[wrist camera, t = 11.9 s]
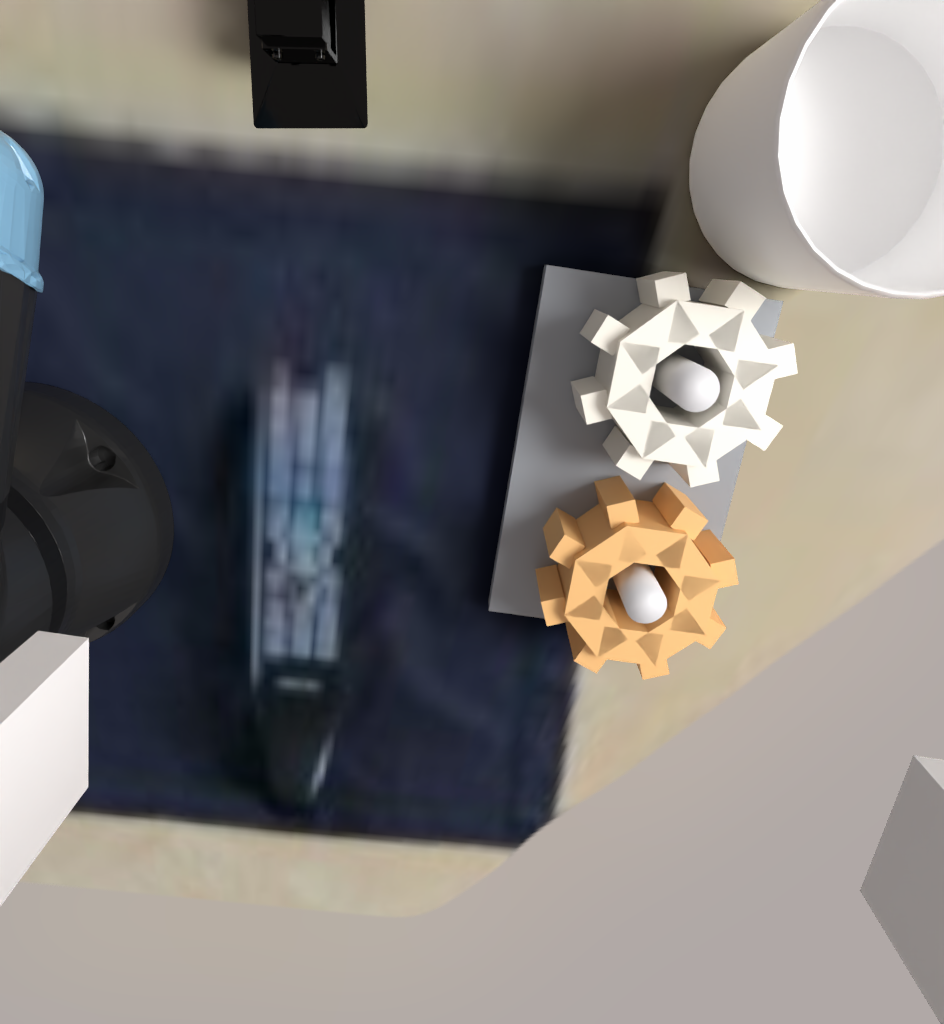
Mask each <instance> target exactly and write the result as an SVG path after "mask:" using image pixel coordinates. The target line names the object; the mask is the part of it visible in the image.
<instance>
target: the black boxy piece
mask: <svg viewBox="0 0 944 1024" xmlns="http://www.w3.org/2000/svg"><path fill="white" fill-rule="evenodd" d="M247 1H248V21H249V40H250V59H251V79H252V98H253V118H254V126H255V127H256V128H365V127H367V124H368V120H367V81H366V42H365V3H364V0H247Z"/></svg>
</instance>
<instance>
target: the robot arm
mask: <svg viewBox="0 0 944 1024" xmlns="http://www.w3.org/2000/svg"><path fill="white" fill-rule="evenodd" d="M43 202H44V192H43V185H42V181H41V178H40V175H39V172H38V170H37V168H36V166H35V164H34V163H33V161H32V159H31V158H30V157H29V155H28V154H27V153H26V152H25V150H24V149H23V148H21V147H20V146H19V145H18V144H17V143H16V142H15V141H14V140H13V139H12V138H10V137H9V136H8V135H6V134H5V133H3V132H2V131H0V906H1V905H2V903H3V902H4V901H5V899H6V898H7V897H8V895H9V894H10V893H11V891H12V889H13V888H14V887H15V886H16V884H17V883H18V882H19V880H20V879H21V878H22V876H23V875H24V874H25V872H26V871H27V869H28V868H29V867H30V865H31V864H32V863H33V861H34V860H35V859H36V857H37V856H38V854H39V853H40V852H41V850H42V849H43V848H44V846H45V845H46V844H47V842H48V841H49V840H50V838H51V837H52V835H53V834H54V833H55V831H56V830H57V829H58V827H59V826H60V825H61V823H62V822H63V820H64V819H65V818H66V816H67V815H68V814H69V812H70V811H71V810H72V808H73V807H74V806H75V804H76V803H77V801H78V800H79V799H80V797H81V796H82V795H83V793H84V792H85V791H86V789H87V788H88V703H89V643H90V642H92V641H94V640H97V639H99V638H101V637H103V636H105V635H107V634H108V633H110V632H111V631H113V630H115V629H116V628H118V627H119V626H120V625H122V624H123V623H124V622H125V621H126V620H128V619H129V618H130V617H131V616H132V615H133V614H134V613H135V612H136V611H137V610H138V609H139V608H140V607H141V606H142V605H143V604H144V603H145V602H146V601H147V600H148V599H149V597H150V596H151V595H152V594H153V592H154V591H155V590H156V588H157V587H158V585H159V584H160V582H161V580H162V578H163V576H164V574H165V572H166V569H167V567H168V564H169V561H170V557H171V553H172V547H173V538H174V522H173V513H172V507H171V502H170V498H169V494H168V491H167V488H166V485H165V483H164V480H163V478H162V476H161V474H160V472H159V470H158V468H157V466H156V464H155V463H154V461H153V459H152V458H151V456H150V455H149V453H148V452H147V450H146V449H145V447H144V446H143V445H142V444H141V442H140V441H139V440H138V439H137V438H136V437H135V435H134V434H133V433H132V432H131V431H130V430H129V429H128V428H127V427H126V426H125V425H124V424H122V423H121V422H120V421H119V420H118V419H117V418H115V417H114V416H113V415H111V414H110V413H109V412H107V411H106V410H104V409H103V408H101V407H100V406H98V405H96V404H95V403H93V402H91V401H89V400H88V399H86V398H83V397H81V396H79V395H77V394H75V393H72V392H70V391H67V390H64V389H61V388H58V387H54V386H50V385H45V384H40V383H32V382H25V377H26V370H27V363H28V355H29V348H30V341H31V334H32V327H33V320H34V312H35V305H36V298H37V292H43V285H44V282H43V279H42V277H41V275H40V274H39V272H38V266H39V254H40V241H41V228H42V215H43ZM860 891H861V893H862V895H863V896H864V898H865V899H866V901H867V903H868V904H869V906H870V907H871V909H872V911H873V913H874V914H875V916H876V918H877V919H878V921H879V923H880V924H881V926H882V928H883V929H884V930H885V933H886V934H887V936H888V937H889V939H890V941H891V942H892V944H893V946H894V947H895V949H896V951H897V952H898V954H899V956H900V957H901V959H902V960H903V962H904V964H905V966H906V967H907V969H908V970H909V972H910V974H911V975H912V977H913V979H914V980H915V982H916V984H917V985H918V987H919V989H920V990H921V992H922V994H923V995H924V997H925V999H926V1000H927V1002H928V1004H929V1005H930V1007H931V1008H932V1010H933V1012H934V1013H935V1015H936V1017H937V1018H938V1020H939V1022H940V1023H941V1024H944V760H942V759H935V758H928V757H921V756H913V758H912V760H911V763H910V766H909V768H908V771H907V773H906V776H905V778H904V781H903V784H902V786H901V788H900V791H899V793H898V796H897V799H896V801H895V804H894V806H893V809H892V811H891V814H890V817H889V819H888V821H887V824H886V827H885V829H884V832H883V834H882V837H881V839H880V842H879V844H878V847H877V849H876V852H875V854H874V857H873V859H872V862H871V865H870V867H869V870H868V872H867V875H866V877H865V880H864V882H863V885H862V887H861V890H860Z"/></svg>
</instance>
